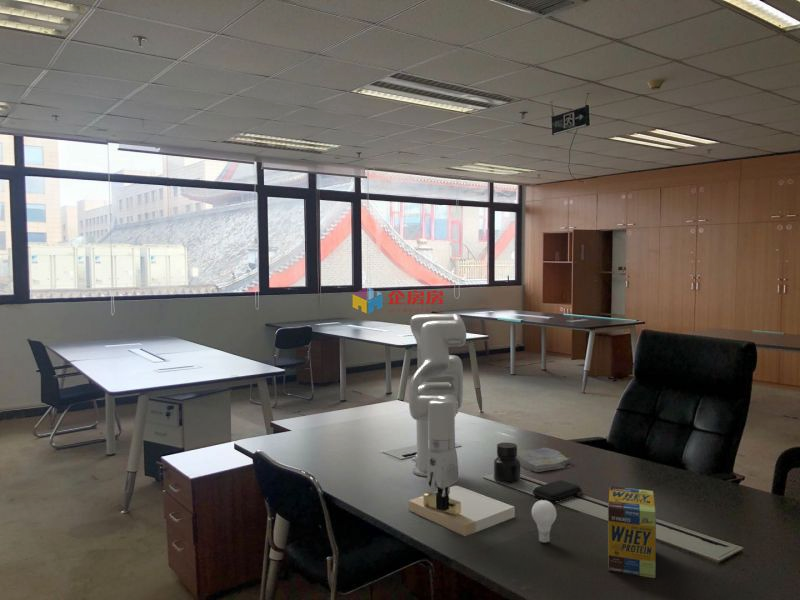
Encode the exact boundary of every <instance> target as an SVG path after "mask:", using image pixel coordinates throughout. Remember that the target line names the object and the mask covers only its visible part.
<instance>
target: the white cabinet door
mask: <svg viewBox="0 0 800 600" xmlns="http://www.w3.org/2000/svg"><path fill="white" fill-rule="evenodd" d="M434 494H435V493H434ZM449 499H452V500H456V501H459V502H461V513H459V514H457V515H454V514H451V513H448V512H445V511H442V510H439V509H436V508H433V507H430V506H425V505H424V504H423V495H421V496H418V497H414V498H412V499H408V500H407V501H408V511H410V512H412V513H413V512H414V514H416V515H418V516H420V517H422V518H425V519H427V520H429V521H431V522H434V523H436V524H438V525H439V526H442V527H444V528H446V529H448V530H451V531H453V532H455V533H457V534H460V535H461V536H464V537H467V536H470V535H473V534H475V533H477V532H480V531H482V530H485V529H488V528H490V527H492V526H493V527H494V526H495V525H498V524H500V523H503V522H505V521H506V522H507V521H508V520H510V519H513V518H515V517H516V516H515V515H516V514H515V506H514V505H512V504H507V503H506V502H505V503H504V502H503V501H499V500H497V499H494V498H493V497H489V496H486V495H483V494H481V493H479V492H475V491H473V490H471V489H467V488H465V487H462V486H459V485H458V484H457V485H453V486H450V493H449Z"/></svg>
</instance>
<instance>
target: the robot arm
mask: <svg viewBox="0 0 800 600" xmlns="http://www.w3.org/2000/svg"><path fill="white" fill-rule="evenodd" d="M409 326H410V330H411V333H412V335H413V337H414V339H415V343H416V345H417V353H416V355H417V370H416V371H415V372H414V374H413V375H412V377H411V380H410V381H409V386H408V407H409V408H408V409H409V413H410V416H411V418H412V419H414V420H415V421H416V454H415V455H414V457H412V458H411V461H412V462H414V463H415V465H414V466H413V467H412V472H413V473H414V474H415V475H417V476H421V477H427V479H426V480H427V485H428V486H429V487H430V492H432V493H435V495H436V508H437V509H439V510H443V511H446V510H448V509H449V493H450V487H452V485H453V484H455V483H456V482H458V480H459V463H458V453H457V449H456V448H457V447H456V426H455V425H456V416H457V415H458V414H459V409H461V407H462V405H463V399H464V397H463V396H464V395H463V394H464V393H463V392H464V391H463V388H464V382H463V381H464V378H463V377H464V371H463V370H464V369H463V368H464V366H463V361H462V359H461V357H459V356H458V355H453V354H449V353H450V352H449V347H450V348H451V347H463V346H464V345H465V344H466V341H467V329H466V325H465V322H464V320H463V319H462V316H461V315H459V314H458V313H421V314H420V313H418V314H414V315H413V316H411V318H410V321H409ZM423 383H424V384H423Z"/></svg>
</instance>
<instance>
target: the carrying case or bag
mask: <svg viewBox="0 0 800 600" xmlns="http://www.w3.org/2000/svg"><path fill="white" fill-rule="evenodd" d="M582 492H583V491H582V488H581V487H580V486H579V485H577V484H574V483H571V482H569V481H566V480H563V479H562V480H561V479H560V480H556V481H551V482H548V483H546V484H542V485H539V486H537V487H535V488H534V489H533V490H532V494H533V495H535V498H538V497H539V499H540V500H543V499H544V500H546V501H549V502H551V503H552V502H555V503H557V502H556V501H559V502H561V501H560V500H562V501H564V500H563V499H565V500H567V499H566V498H568V499H570V498H569V497H571V498H573V497H572V496H574V497H576V496H575V495H577V497H579V496H580V495H581V494H582Z"/></svg>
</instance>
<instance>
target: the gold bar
mask: <svg viewBox="0 0 800 600" xmlns="http://www.w3.org/2000/svg"><path fill="white" fill-rule="evenodd" d="M422 496H423V504H424V505H425V506H430V507H433V508H436V495H435V494H434V493H432V492H431V491H426V492H425V491H424V492H423V494H422ZM436 509H437V508H436ZM442 511H443V510H442ZM445 512H448V513H451V514H454V515H457V514H459V513H461V502H459V501H456V500H452V499H449V509H448V510H446V511H445Z"/></svg>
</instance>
